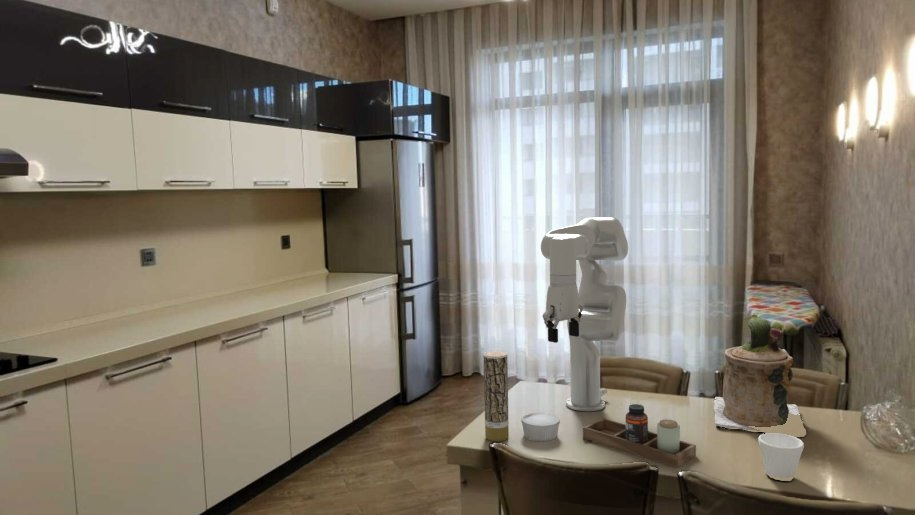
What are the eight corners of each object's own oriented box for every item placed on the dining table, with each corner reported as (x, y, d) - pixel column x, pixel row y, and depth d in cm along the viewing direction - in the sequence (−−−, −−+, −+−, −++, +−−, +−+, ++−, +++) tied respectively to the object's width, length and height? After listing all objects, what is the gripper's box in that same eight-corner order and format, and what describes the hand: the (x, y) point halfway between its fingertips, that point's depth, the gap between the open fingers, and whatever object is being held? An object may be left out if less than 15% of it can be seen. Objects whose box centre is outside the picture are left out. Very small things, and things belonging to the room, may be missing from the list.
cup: (766, 464, 164) (767, 429, 163) (809, 476, 157) (810, 439, 156) (750, 476, 157) (751, 440, 156) (793, 490, 150) (795, 452, 149)
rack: (603, 430, 190) (603, 418, 189) (695, 458, 169) (695, 445, 168) (582, 439, 183) (582, 427, 182) (676, 470, 162) (676, 456, 161)
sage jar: (664, 450, 173) (664, 417, 172) (683, 456, 169) (683, 422, 168) (653, 456, 169) (653, 422, 168) (672, 462, 165) (673, 428, 164)
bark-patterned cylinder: (507, 443, 182) (505, 357, 179) (483, 441, 183) (481, 356, 180) (510, 434, 188) (508, 350, 186) (487, 432, 190) (485, 350, 187)
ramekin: (529, 426, 194) (528, 409, 193) (564, 432, 189) (564, 414, 188) (515, 440, 184) (515, 422, 183) (553, 446, 179) (553, 427, 178)
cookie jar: (713, 429, 188) (715, 322, 184) (713, 403, 211) (715, 307, 207) (808, 439, 179) (812, 327, 175) (797, 410, 202) (801, 310, 198)
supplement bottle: (648, 443, 178) (648, 403, 176) (647, 451, 172) (648, 410, 171) (626, 441, 179) (626, 401, 178) (624, 449, 174) (624, 409, 173)
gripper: (571, 275, 191) (571, 331, 193) (533, 282, 180) (534, 342, 182) (592, 277, 186) (592, 335, 188) (554, 285, 174) (555, 346, 176)
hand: (563, 338), depth 185 cm, fingers open, 9 cm apart
